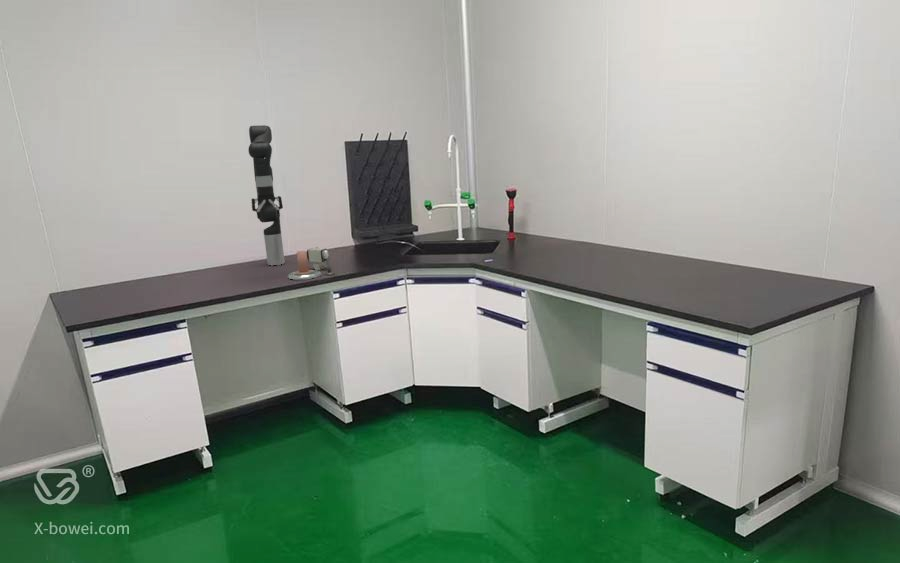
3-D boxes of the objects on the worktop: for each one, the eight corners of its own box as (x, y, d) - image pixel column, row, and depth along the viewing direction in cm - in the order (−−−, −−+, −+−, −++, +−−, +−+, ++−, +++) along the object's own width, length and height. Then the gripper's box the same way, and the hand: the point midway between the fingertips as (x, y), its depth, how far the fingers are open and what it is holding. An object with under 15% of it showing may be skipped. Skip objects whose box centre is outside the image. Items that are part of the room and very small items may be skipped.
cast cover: (293, 273, 290) (290, 252, 287) (307, 270, 295) (305, 249, 292) (300, 276, 284) (297, 254, 281) (314, 273, 289) (312, 251, 286)
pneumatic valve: (326, 270, 300) (323, 248, 297) (307, 270, 304) (304, 247, 301) (331, 268, 305) (329, 246, 302) (313, 267, 309) (310, 245, 306)
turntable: (282, 277, 291) (282, 273, 291) (311, 271, 301) (311, 268, 300) (296, 282, 279) (296, 278, 279) (326, 275, 289) (326, 272, 288)
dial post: (323, 274, 292) (321, 249, 289) (331, 272, 295) (329, 248, 292) (328, 275, 289) (325, 250, 286) (335, 274, 292) (333, 249, 289)
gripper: (278, 183, 285) (282, 216, 289) (248, 186, 279) (252, 219, 283) (281, 184, 278) (284, 218, 282) (250, 187, 272) (254, 221, 276)
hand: (268, 218), depth 282 cm, fingers open, 8 cm apart
